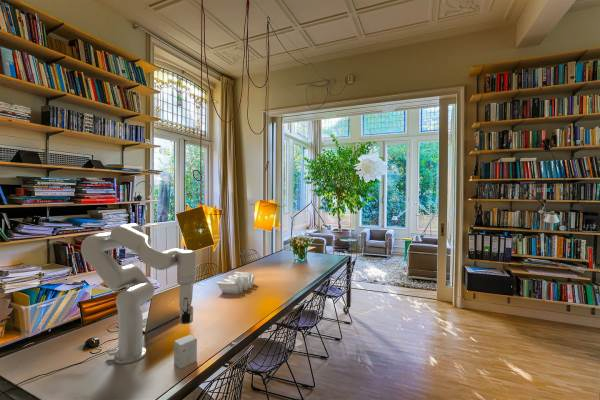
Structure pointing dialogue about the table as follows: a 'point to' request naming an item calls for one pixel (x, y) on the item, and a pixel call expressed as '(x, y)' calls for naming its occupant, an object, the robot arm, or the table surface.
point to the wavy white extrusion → (237, 283)
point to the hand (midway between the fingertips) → (186, 319)
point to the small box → (185, 351)
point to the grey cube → (190, 314)
